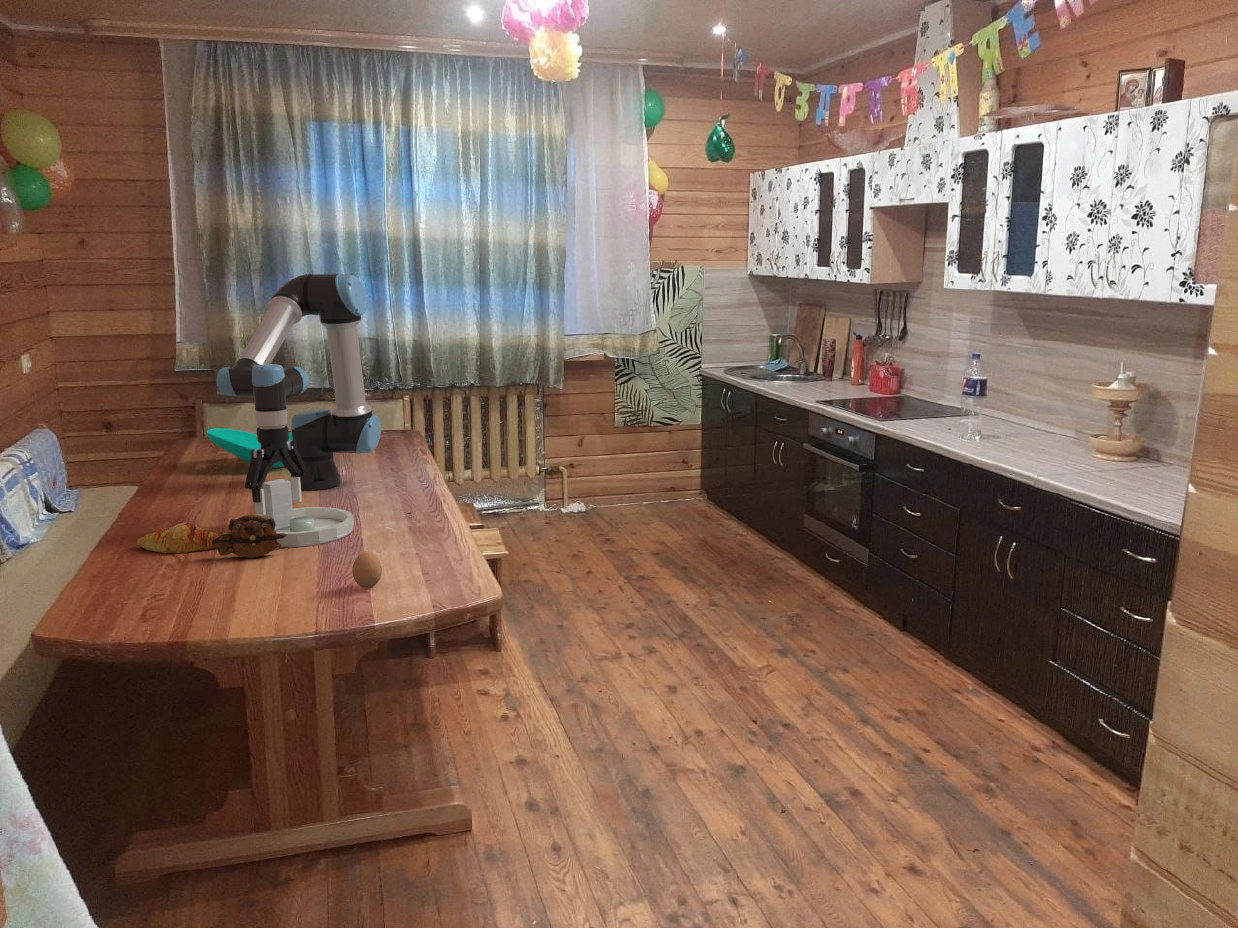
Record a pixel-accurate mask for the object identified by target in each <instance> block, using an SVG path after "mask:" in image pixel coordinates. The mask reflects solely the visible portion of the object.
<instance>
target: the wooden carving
mask: <svg viewBox="0 0 1238 928" xmlns="http://www.w3.org/2000/svg"><path fill="white" fill-rule="evenodd" d="M275 526H276V523H275V520H274V518H273V517H272V518H267V517H265V516H261V515H259V514H255V513H253V514H252V513H251V514H245V515H241V516H240V517H238V518H234V517H232V518H231V519H230V520H229V524H228V530H229V531H230V533H223V534H220V536H218V537H216V538H214V540H212V543H213V544H215V546H216V547H215V548H216V549H217V552H218V555H220V556H228V555H231V554H234V555H236V556H238V557H242V558H247V559H248V558H249V559H250V558H259V557H262V556H266V555H268V554H269V553H271V552H274V551H276V550H277V549H278V548H280V546H281V544H279V543H278V542H277V539H282V538H284V537H286V536H287V534H285V533H276V531H275Z"/></svg>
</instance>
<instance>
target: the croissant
mask: <svg viewBox="0 0 1238 928" xmlns="http://www.w3.org/2000/svg"><path fill="white" fill-rule="evenodd" d="M220 535H221V534H220ZM220 535H218V534H217V533H216V532H213V531H210V532H209V531H207V530H206V529H204V528H203V527H199V526H196V525H195V524H193V523H192V522H186V521H183V522H181V523H178V524H175V525H174V526H172V527H165V528H160V529H159V530H156V531H155V532H151V533H147V534H145V535H144V536H143V537H139V538H138V539H137V541H136V544H137V546H139V547H141V548H142V549H145V550H147V551H152V552H156V553H161V554H187V553H191V552H196V551H199V552H200V551H207V550H210V549H215V548H216V546H215V544H213V543H212V540H214V538H216V537H218V536H220Z"/></svg>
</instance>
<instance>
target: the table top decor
mask: <svg viewBox="0 0 1238 928" xmlns="http://www.w3.org/2000/svg"><path fill="white" fill-rule="evenodd" d="M205 433H206V435H207V437H208V438H209V441H211V442H213V444H214V445H216V446H218V447H219V448H221V449H222V450H224V451H226V452H227V453H229V454H231V455H233V456H234V457H237V458H239V459H241V460H243V461H244V462H247V463H249V464H250V461H251V450H252V449H256V450H260V448H261V444H260V443H259V442H258V440H257V433H253V432H249V431H244V430H239V429H234V428H233V429H232V428H224V427H223V428H221V427H215V428H210V429H208V430H206V431H205ZM289 440H292V431H289ZM287 453H288V452H287ZM265 461H266V460H265ZM284 467H285V466H284V465H283V463H282V462H277V463H275V464H273V466H271V467H270V469H279V468H284Z"/></svg>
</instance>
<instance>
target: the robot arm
mask: <svg viewBox="0 0 1238 928" xmlns="http://www.w3.org/2000/svg"><path fill="white" fill-rule="evenodd" d="M267 305H268V306H267V307H268V310H267V312H266V314H265V315H264V317H263V319H262V320H261V322H260V323H259V325H258V327H257V328H256V330H255V332H254V333H253V335H252V337H251V338H250V339H249V341H248V343H247V344H246V346H245V348H244V349H243V351H242V352H241V354H240V355H239V357H238V359H237V361H236V362H235V364H234V365H233V366H228V367H225V366H224V367H222V368H220V369H219V371H218V372H217V374H216V386H217V388H218V390H219V392H220V393H221V394H222V395H224V396H229V397H253V401H254V412H255V414H254V415H255V423H256V424H255V425H256V426H257V428H256V434H257V440H258V442H259V443H260V444H261V448H260V450H256V449H252V450H251V461H250V463H249V466H248V470H247V472H246V473H247V474H246V478H245V481H244V485H243V486H244V489H248V490H251V497H252V502H253V505H254V514H255V515H265V514H266V510H265V498H264V489H261V487H262V485H263V483H264V482H265V479H266V477H267V476H268V473H269V471H270V469H271V468H270V467H271V466H273V464H275V463H277V462H282V463H283V465H284V467H285V468H286V470H287V471H288V472H289V473H290V476H289V481H290V484H291V496H292V502H297V503H298V502H299V503H301V502H303V499H302V491H318V490H327V489H331V488H335V487H338V486H340V485H341V484H342V479H341V477H342V476H341V474H340V473H339V470H338V467H337V464H336V462H335V459H334V453H335V454H337V453H339V454H357V455H360V454H370V453H373V452H374V451H375V450H376V448H377V447H378V444H379V441H380V439H381V433H382V422H381V420H380V417H379V416H377V415H376V414H373V409H372V406H370V405H369V404H367V401H366V394H365V385H364V384H365V383H364V376H363V368H362V361H361V360H362V359H361V351H360V350H361V349H360V342H359V340H360V339H359V334H358V332H359V331H358V325H359V323H360V322H362V316H363V315H364V314H365V313H366V312H367V308H368V306H367V305H368V296H367V292H366V289H365V286H364V285H363V283H362V281H361V280H360V278H358V277H357V276H356V275H353V274H343V273H323V274H322V273H321V274H319V273H318V274H317V273H315V274H312V273H308V274H307V273H306V274H301V275H298V276H296V277H293V278H292V279H290V280H289V281H286V282H285V283H284V284H283V285H282V286H281V287H280V288H278V289H277V291H275V293H274V294H273V295H272V297H271V298H270V300H269V301H268V304H267ZM305 316H319V322H320V324H321V325H323V326H324V327H325V329H326V334H327V341H328V350H329V351H328V352H329V358H330V364H331V372H332V373H331V374H332V379H333V381H332V382H333V387H334V389H333V390H334V396H335V404H336V406H335V407H334V409H333V410H332V411H331V410H330V409H329V408H328V409H327V408H324V409H323V408H321V409H315V410H308V411H303V412H299V413H296V414H294V415H293V416H292V417H291V429H290V430H291V432H292V440H289V433H290V431H289V427H288V426H287V425H288V424H289V420H288V419H289V418H288V417H289V416H288V409H287V399H289V398H293V397H298V396H299V395H301V394H303V393H304V392H306V390H308V387H309V384H310V380H309V376H308V374H307V372H306V371H305V370H304V369H303V368H301V367H299V366H287V367H283V366H282V365H281V364H277V363H272V362H273V360H274V358H275V357H276V355H277V353H279V350H280V349H281V347H282V345H283V344H284V341H285V339H286V338H287V337H288V334H289V333H290V331H291V330H292V328H293V326H294V325H296V324H297V323H299V322H300V321H301V320H302V318H303V317H305ZM287 452H288V453H287ZM265 460H266V461H265Z"/></svg>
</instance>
